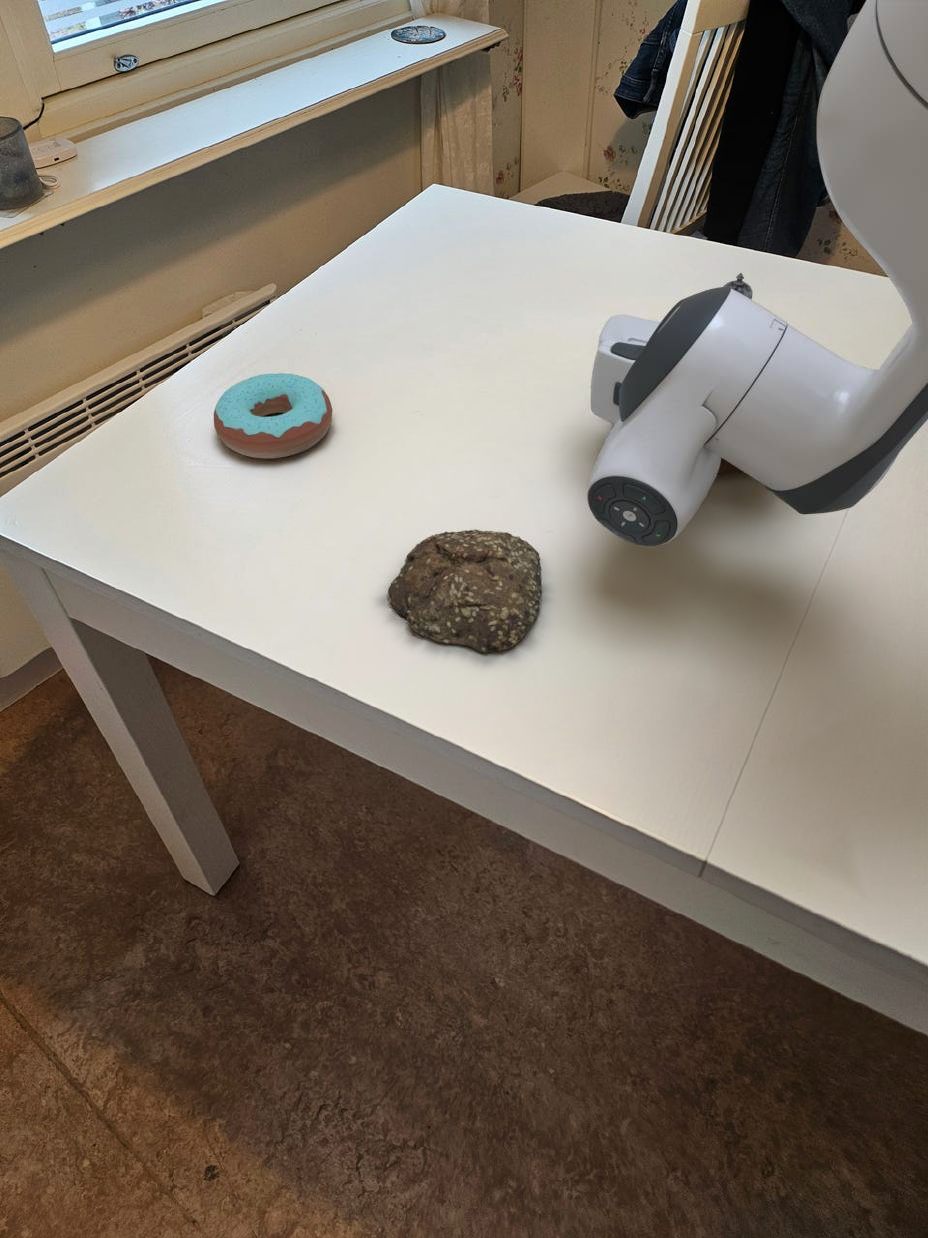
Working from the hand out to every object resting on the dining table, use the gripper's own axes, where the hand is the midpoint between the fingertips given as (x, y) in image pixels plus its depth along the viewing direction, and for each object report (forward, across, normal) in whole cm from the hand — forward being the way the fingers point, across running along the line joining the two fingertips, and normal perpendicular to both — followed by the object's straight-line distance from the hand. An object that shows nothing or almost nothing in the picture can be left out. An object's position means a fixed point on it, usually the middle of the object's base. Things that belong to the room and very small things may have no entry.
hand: (731, 327), depth 81 cm
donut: (-19, +40, +12) cm, 46 cm away
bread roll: (-32, +12, +12) cm, 36 cm away
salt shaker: (-1, 0, +6) cm, 7 cm away
